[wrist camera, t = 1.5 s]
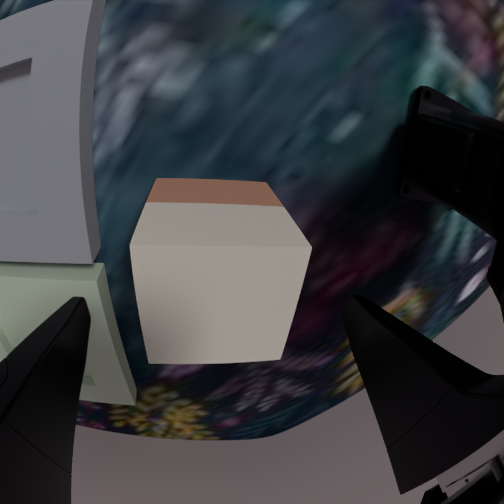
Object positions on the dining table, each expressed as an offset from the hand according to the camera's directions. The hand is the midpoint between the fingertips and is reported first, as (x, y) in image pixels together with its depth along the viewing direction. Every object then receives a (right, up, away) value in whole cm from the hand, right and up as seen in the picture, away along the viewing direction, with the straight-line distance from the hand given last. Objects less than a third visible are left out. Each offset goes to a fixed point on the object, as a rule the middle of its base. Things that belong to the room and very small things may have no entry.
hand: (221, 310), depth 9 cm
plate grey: (-12, +7, 0) cm, 14 cm away
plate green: (-13, -4, +6) cm, 15 cm away
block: (-1, +3, +5) cm, 6 cm away
